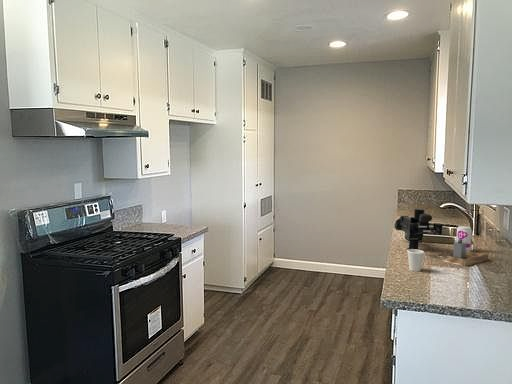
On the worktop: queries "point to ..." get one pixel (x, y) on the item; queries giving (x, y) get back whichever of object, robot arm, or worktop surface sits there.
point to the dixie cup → (415, 259)
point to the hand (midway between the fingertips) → (430, 231)
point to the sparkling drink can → (464, 236)
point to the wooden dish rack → (467, 259)
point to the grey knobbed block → (459, 249)
